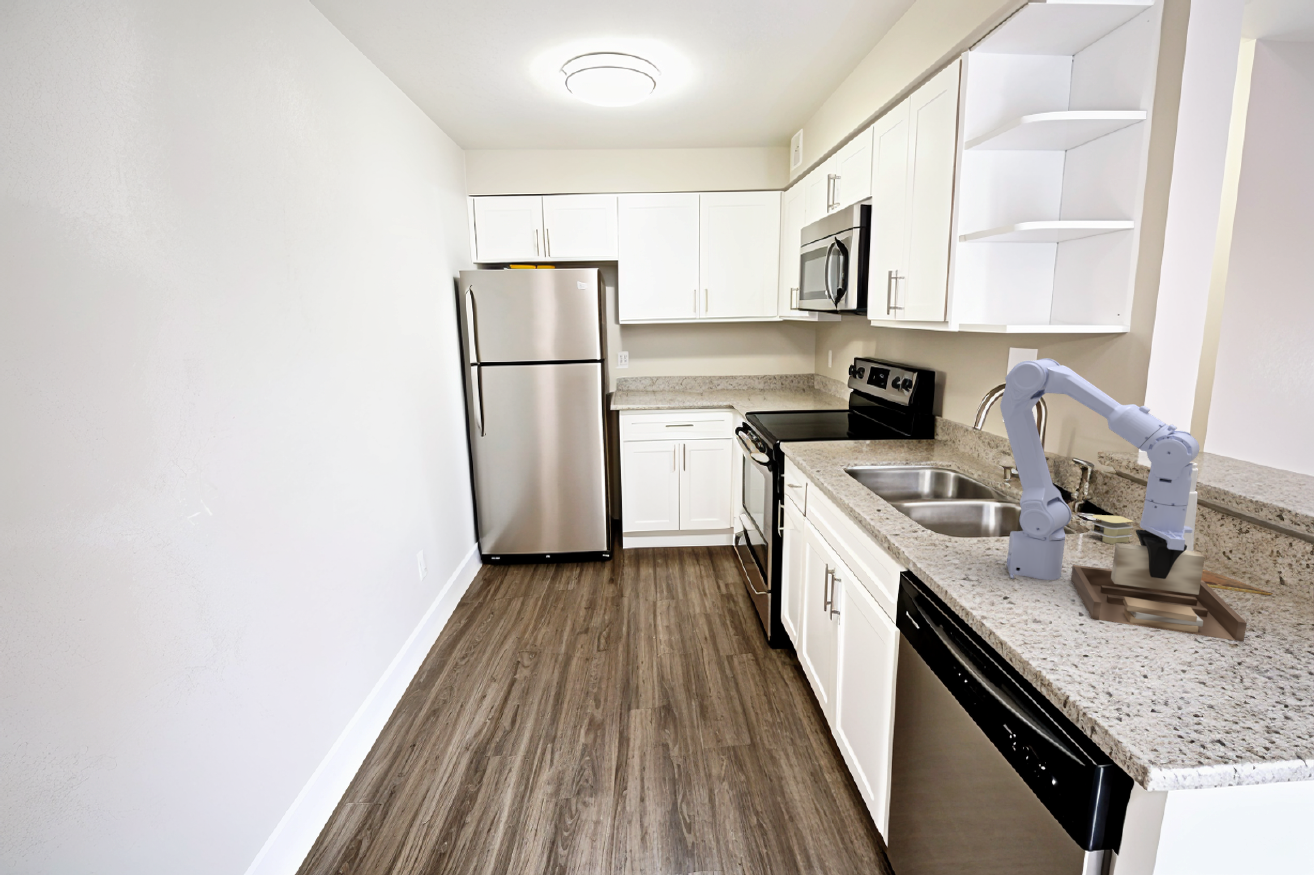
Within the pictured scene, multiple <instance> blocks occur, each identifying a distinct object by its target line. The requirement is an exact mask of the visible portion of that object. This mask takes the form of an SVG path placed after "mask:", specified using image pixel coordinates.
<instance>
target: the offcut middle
mask: <svg viewBox="0 0 1314 875" xmlns="http://www.w3.org/2000/svg"><path fill="white" fill-rule="evenodd" d="M1130 612H1131V614H1132V615H1133V616H1134V617H1135V618H1136V619H1143V620H1152V621H1160V622H1168V623H1176V624H1184V625H1192V626H1201V627H1202V626H1203V620H1202V619H1201V618H1199V617H1198V616H1197V615H1196V616H1197V621H1196V622H1192V621H1186V620H1180V619H1174V618H1168V617H1162V616H1156V615H1150V614H1145V613H1139V612H1133V611H1130Z"/></svg>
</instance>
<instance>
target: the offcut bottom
mask: <svg viewBox="0 0 1314 875" xmlns="http://www.w3.org/2000/svg"><path fill="white" fill-rule="evenodd" d="M1124 614H1125V616H1126V617H1127V619H1128V620H1129V622H1130V623H1135V624H1142V625H1148V626H1155V627H1162V628H1169V629H1175V630H1182V631H1189V632H1195V633H1198V628H1199V627H1198V626H1192V625H1184V624H1176V623H1168V622H1160V621H1152V620H1143V619H1136V618H1135V617H1134V616H1133V615H1132V614H1131V612H1130V611H1127V609H1126V608H1124Z"/></svg>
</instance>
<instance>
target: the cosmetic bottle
mask: <svg viewBox="0 0 1314 875" xmlns="http://www.w3.org/2000/svg"><path fill="white" fill-rule="evenodd" d="M1190 463H1192V464H1193V466H1192V469H1193V471H1192V474H1191V478H1192V481H1191V487H1190V493H1189V500H1188V505H1187V512H1186V518H1185V524H1184V526H1189V527H1190V528H1192V529H1193V530H1192V533H1185V534H1184V537H1183V538H1184V539H1185V545H1187V549H1186V550H1187V551H1194V542H1195V539H1194V538H1195V528H1196V518H1197V508H1198V507H1197V506H1198V491H1196V488H1197V482H1198V476H1199V468H1198V465H1199V464H1198V463H1197V462H1193V461H1191V462H1190Z"/></svg>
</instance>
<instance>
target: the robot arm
mask: <svg viewBox="0 0 1314 875" xmlns="http://www.w3.org/2000/svg"><path fill="white" fill-rule="evenodd" d="M1004 378H1005V388H1004V390H1003V393H1002V397H1001V400H1000V405H999V408H1000V412H1001V416H1002V419H1003V423H1004V426H1005V429H1006V434H1007V438H1008V440H1009V445H1010V447H1011V448H1010V449H1011V451H1012V455H1013V459H1014V462H1015V466H1016V470H1017V473H1018V478H1019V480H1020V484H1021V488H1022V493H1021V496H1020V499H1019V505H1020V516H1019V525H1020V527H1021V529H1022V530H1020V531H1019V530H1018V531H1015V530H1011V531H1010V534H1009V539H1008V548H1007V550H1008V551H1007V557H1006V567H1007V571H1008V574H1009V577H1010V579H1012V580H1013V579H1014V580H1015V579H1016V578H1015V576H1023V577H1029V578H1034V579H1038V580H1046V581H1050V580H1051V581H1053V580H1054V581H1055V580H1059V579H1060V578H1061V576H1062V569H1063V559H1064V551H1065V550H1064V549H1065V542H1066V533H1065V530H1064V529H1065V528H1064V527H1066V526H1067V525H1069V523H1070V522H1071V520H1072V518H1073V517H1072V510H1071V508H1070V507H1069V505H1068V504H1067V503H1066V502H1065V500H1064V499H1063V497H1062V493H1061V491H1060V490H1059V489H1058V488H1057V487H1056V486H1055V485H1054V483H1053V480H1052V477H1051V473H1050V469H1049V465H1048V462H1047V458H1046V456H1045V451H1044V448H1043V445H1042V441H1041V438H1040V437H1041V436H1040V434H1039V430H1038V427H1037V422H1036V419H1035V415H1034V412H1033V408H1034V407H1035V406H1036V405H1037V403H1038V402H1039V401H1040V399H1041V398H1042V397H1043V396H1044V395H1045V394H1054V395H1055V394H1056V395H1066V396H1068V397H1070V398H1072V399H1073V400H1075V401H1077V402H1078V403H1080V404H1082V405H1083V406H1085V407H1087V408H1089V409H1090V410H1092V411H1094V412H1095V413H1097V414H1098V415H1100V416H1102V417H1104V419H1106V421H1107V425H1108V429H1109V430H1110V431H1112V432H1113V433H1115V434H1116V435H1118V436H1119V437H1120V438H1122V439H1124V440H1125V441H1126V442H1128V443H1129V444H1131V445H1133V446H1134V447H1135V448H1137V449H1139V450H1140V451H1142V452H1146V456H1147V458H1148V460H1149V462H1150V469H1149V473H1148V477H1147V485H1146V489H1145V498H1144V504H1143V511H1142V514H1141V519H1140V522H1139V527H1140V528H1141V529H1135V533H1136V536H1137V538H1138V540H1139V542H1140V546H1147V550H1148V555H1149V572H1150V576H1151V577H1153V578H1161V579H1166V577H1167V576H1168V574H1169V572H1170V570H1171V568H1172V566H1173V564H1174V562H1175V561H1176V559H1177V558H1178V557H1179V556H1180V555H1181V554H1182V553H1183V552H1184V551H1185V550H1186V549H1187V545H1185V539H1184V538H1183V537H1184V534H1185V533H1192V530H1193V529H1192V528H1190V527H1189V526H1184V524H1185V518H1186V512H1187V505H1188V500H1189V493H1190V487H1191V481H1192V478H1191V474H1192V471H1193V469H1192V466H1193V464H1192V463H1190V462H1193V461H1194V460H1195V459H1196V458H1197V456H1198V454H1199V453H1200V445H1199V442H1198V440H1197V439H1196V438H1195V437H1193V436H1192V434H1191V433H1190V432H1188V431H1183V430H1177V429H1178V427H1177V426H1176V425H1174V424H1173V423H1172V424H1170V425H1168V424H1167V423H1165V422H1164V421H1162V420H1161V419H1159V418H1157V417H1156V416H1155V415H1152V414H1151V413H1150V412H1151V409H1150V408H1149V407H1147V406H1146V405H1141V406H1138V405H1137V404H1135V403H1134V404H1133V403H1132V404H1121V403H1119V402H1118V401H1117V400H1115V399H1114V398H1112V397H1111V396H1109V395H1108V393H1105V392H1104V391H1103V390H1101V389H1100V388H1098V387H1096V386H1095V385H1094V384H1093V383H1091V382H1089V381H1088V380H1087V379H1085V378H1084V377H1083V376H1081V375H1079V374H1078V373H1077V372H1075V371H1074V370H1073V369H1072V368H1070V367H1068V366H1066V365H1064V364H1062V365H1061V364H1060V363H1059V362H1058V361H1056V360H1055V359H1052V358H1047V357H1046V358H1039V359H1037V360H1036V359H1035V360H1024V361H1020V362H1018V363H1017V364H1016V365H1014V367H1013V368H1012V369H1011V370H1010V371H1009V372H1008V373H1007V375H1006V376H1005V377H1004ZM1017 568H1019V569H1017Z"/></svg>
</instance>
